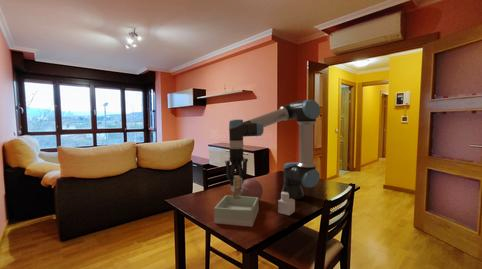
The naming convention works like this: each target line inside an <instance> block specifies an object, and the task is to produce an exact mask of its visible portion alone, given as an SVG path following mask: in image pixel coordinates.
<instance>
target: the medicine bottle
mask: <svg viewBox="0 0 482 269" xmlns="http://www.w3.org/2000/svg"><path fill="white" fill-rule="evenodd" d="M295 210H296V199H292V193H291V192H290V191H282V190H281V192H280V199H278V200H277V213H278V214H281V215H286V216H291V215H292V214H293V213H295V212H296V211H295Z"/></svg>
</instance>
